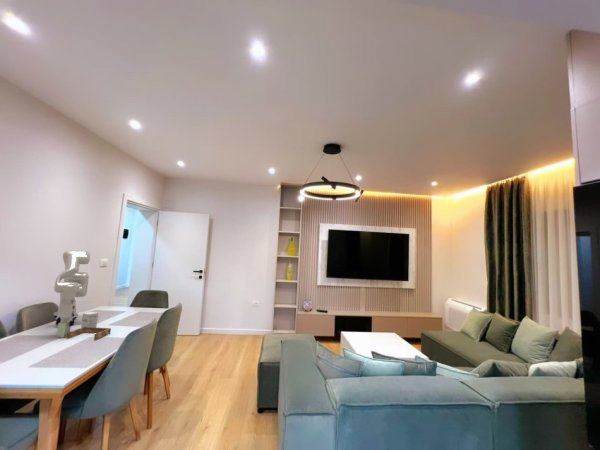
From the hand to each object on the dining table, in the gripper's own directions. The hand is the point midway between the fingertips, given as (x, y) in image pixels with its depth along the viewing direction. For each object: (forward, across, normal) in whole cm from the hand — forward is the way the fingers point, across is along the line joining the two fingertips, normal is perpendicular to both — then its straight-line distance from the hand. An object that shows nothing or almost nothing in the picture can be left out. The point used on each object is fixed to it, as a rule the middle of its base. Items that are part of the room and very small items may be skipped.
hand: (64, 325), depth 199 cm
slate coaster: (+7, -1, +1) cm, 8 cm away
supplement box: (+8, -5, -18) cm, 20 cm away
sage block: (+7, -1, +1) cm, 7 cm away
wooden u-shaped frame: (+7, -17, -2) cm, 18 cm away
